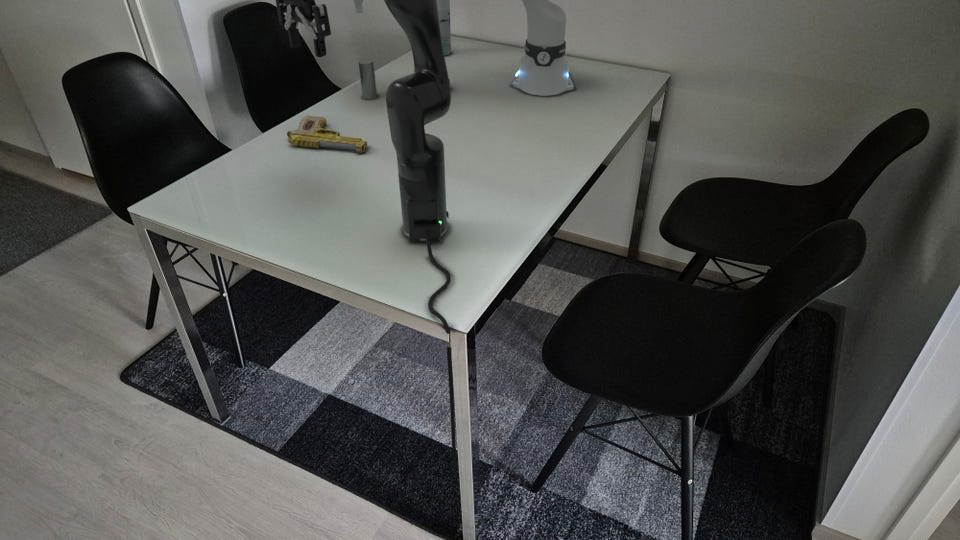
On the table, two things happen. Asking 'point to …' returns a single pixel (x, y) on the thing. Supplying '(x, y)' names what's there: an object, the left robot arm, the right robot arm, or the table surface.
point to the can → (367, 78)
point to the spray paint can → (445, 24)
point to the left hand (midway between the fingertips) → (308, 51)
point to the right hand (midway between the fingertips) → (359, 7)
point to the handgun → (322, 136)
